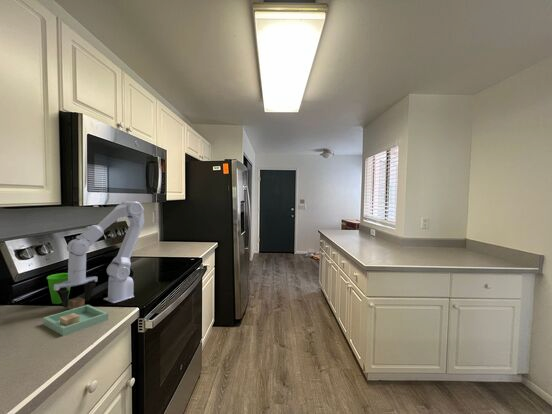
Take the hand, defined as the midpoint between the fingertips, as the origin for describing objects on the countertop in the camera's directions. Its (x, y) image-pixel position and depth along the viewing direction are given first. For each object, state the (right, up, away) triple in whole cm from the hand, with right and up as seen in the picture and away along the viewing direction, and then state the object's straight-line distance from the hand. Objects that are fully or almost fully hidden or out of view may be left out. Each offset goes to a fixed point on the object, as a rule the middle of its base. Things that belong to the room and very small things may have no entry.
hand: (76, 303), depth 107 cm
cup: (-12, -2, +7) cm, 14 cm away
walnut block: (0, -2, 0) cm, 2 cm away
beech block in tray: (+10, -3, -16) cm, 19 cm away
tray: (+9, -3, -12) cm, 15 cm away
